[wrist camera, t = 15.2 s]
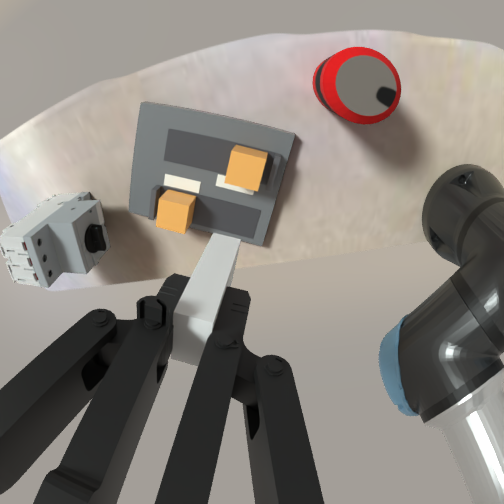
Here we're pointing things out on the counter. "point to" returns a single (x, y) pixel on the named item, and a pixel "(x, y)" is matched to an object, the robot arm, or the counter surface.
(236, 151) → the tab
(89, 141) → the counter surface
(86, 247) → the circuit breaker
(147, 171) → the switch board
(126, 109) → the counter surface
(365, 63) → the soda can
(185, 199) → the tab
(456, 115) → the counter surface
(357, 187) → the counter surface
